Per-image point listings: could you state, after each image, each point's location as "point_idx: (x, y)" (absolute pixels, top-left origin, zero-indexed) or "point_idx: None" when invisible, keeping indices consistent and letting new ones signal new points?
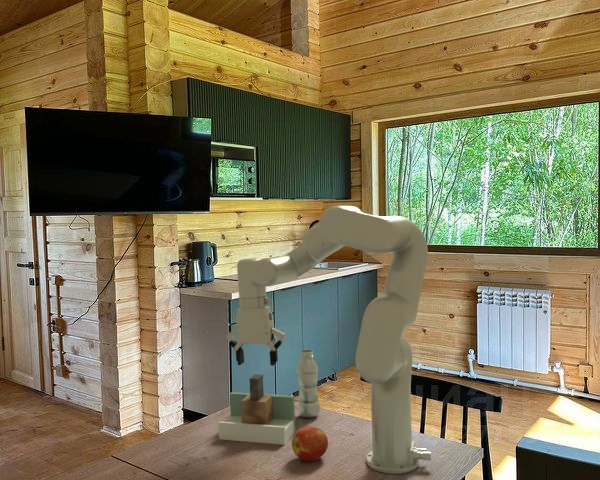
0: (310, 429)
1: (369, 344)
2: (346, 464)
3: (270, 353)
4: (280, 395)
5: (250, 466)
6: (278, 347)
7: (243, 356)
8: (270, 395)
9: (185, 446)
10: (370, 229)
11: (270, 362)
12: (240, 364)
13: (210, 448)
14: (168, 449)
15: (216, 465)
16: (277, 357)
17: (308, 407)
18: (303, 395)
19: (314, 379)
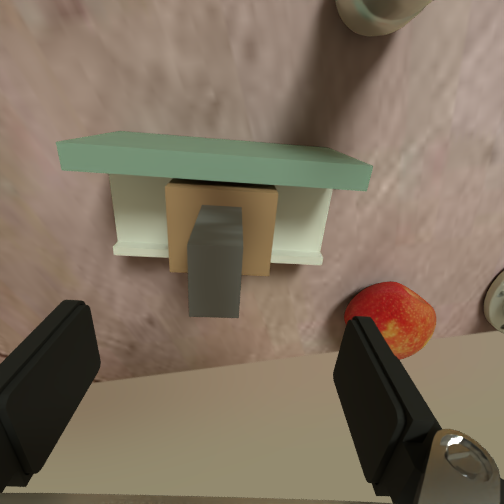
0: (409, 353)
1: None
2: (442, 308)
3: (370, 471)
4: (310, 170)
5: (258, 338)
6: (485, 475)
7: (60, 345)
8: (271, 199)
9: (72, 281)
10: None
11: (339, 394)
12: (99, 363)
13: (138, 283)
14: (43, 300)
15: (191, 343)
16: (404, 371)
17: (390, 29)
18: (395, 1)
19: None
